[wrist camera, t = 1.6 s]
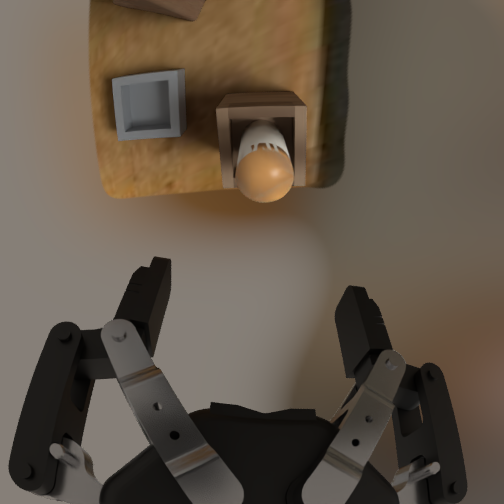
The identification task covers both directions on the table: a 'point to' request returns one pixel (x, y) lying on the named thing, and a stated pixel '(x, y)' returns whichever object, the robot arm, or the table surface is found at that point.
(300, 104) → the socket tower
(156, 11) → the wooden block
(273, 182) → the white and tan cylinder
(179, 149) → the table surface
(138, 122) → the low socket
